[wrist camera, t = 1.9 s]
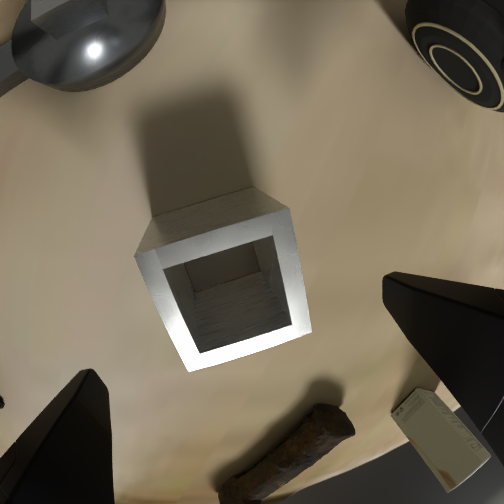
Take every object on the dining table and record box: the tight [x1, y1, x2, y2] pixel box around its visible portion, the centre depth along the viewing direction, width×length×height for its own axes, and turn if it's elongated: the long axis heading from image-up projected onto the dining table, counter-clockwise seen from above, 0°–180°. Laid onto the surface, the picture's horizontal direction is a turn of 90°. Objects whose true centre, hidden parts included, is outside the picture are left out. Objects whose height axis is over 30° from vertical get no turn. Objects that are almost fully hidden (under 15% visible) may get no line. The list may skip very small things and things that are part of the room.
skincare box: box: [391, 388, 491, 492], centre depth 19 cm, size 6×4×12 cm
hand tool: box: [218, 403, 355, 504], centre depth 20 cm, size 19×4×5 cm, turn 144°
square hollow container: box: [134, 187, 312, 371], centre depth 12 cm, size 5×5×5 cm
